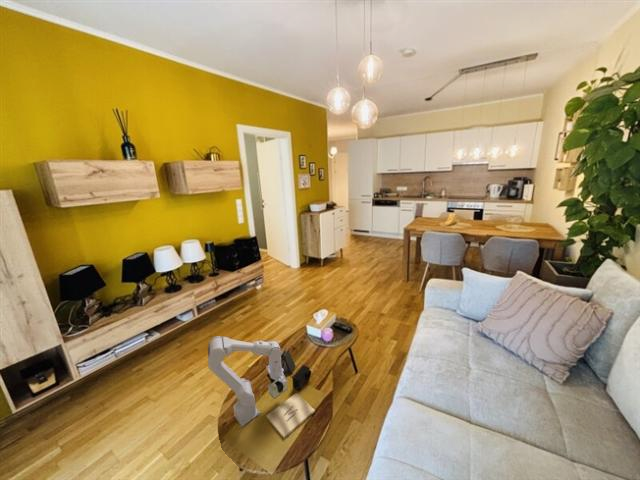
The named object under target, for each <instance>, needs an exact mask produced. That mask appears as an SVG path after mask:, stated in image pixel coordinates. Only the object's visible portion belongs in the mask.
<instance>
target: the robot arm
mask: <svg viewBox="0 0 640 480" xmlns="http://www.w3.org/2000/svg"><path fill="white" fill-rule="evenodd" d="M233 352H251V354H252V355H256V356H257V355H258V356H265V357H266V356H268V365H266V367H265V369H266V371H267V372H268V373H267V374H266V377H267V378H268V380H269V381H270V384H271V383H272V382H274V381H275V380H277V382H275V384H276V386H277V388H278V392H279V393H281V392H282V391H283V388H284V386H285V385H286V384H287V385H288V379H287V377H286V376H285V373H283V371H284V369H283V368H282V364H281V355H282V354H283V352H282V349H281V347H280V345H279V342H278V341H277V340H274V339H272V340H269V341H262V340H261V339H260V340H255V341H253V342H249V341H248V342H247V341H243V340H237V339H232V338H229V337H227V336H218V335H217V336H214V337H212V338H211V339H210V341H209V343H208V346H207V363H208V364H207V365H208V369H209V370H210V371H211V372H212V373H213V374H214V375H216V377H217V378H219V379H220V380H221V381H222V382H223V383H225V385H226V386H228V387H229V388H230V390H232V391H233V392H234V395H235V398H236V399H237V402H236V403H234V404H233V407H232V408H233V414H234V415H233V417H234V418H235V419H236V420H237V422H238V424H239V425H240V427H244V426H245V425H246V424H248V423H249V422H251V420H253V419H255V418H257V416H258V415H260V414H261V413H260V411H259V409H258V408H257V406H256V400H255V394H254V393H253V389H252V382H251V381H250V380H247V379H245V378H243V377H242V378H240V377H239V376H238V375H237V373H235V372H234V371H233V370H232V369H231V368H230V367H229V366H228V365H227V364H226V363H225V362H224V359H225V357H229V356H230V355H232V353H233Z"/></svg>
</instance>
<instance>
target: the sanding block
mask: <svg viewBox="0 0 640 480" xmlns="http://www.w3.org/2000/svg"><path fill="white" fill-rule="evenodd" d="M275 382H277V380H275V381H274V382H272V383H271V382H270V384H268V385H267V388H268V395H270V397H271V398H273V400H275V399H277V398H278V397H280V395H282V394H284V393H285V392H286V391H288V383H287V384H286V385H285V386H284V388H283V391H282V392H281V393H279V392H278V388H277V386H276V384H275Z"/></svg>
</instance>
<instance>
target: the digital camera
mask: <svg viewBox="0 0 640 480" xmlns="http://www.w3.org/2000/svg"><path fill="white" fill-rule="evenodd" d="M311 376H312V371H311V370H310V367H309V366H307V365H304V364H303V365H301V367H300V368H299V369H298V370H297V371H296V373H295V374H294V375H293V376H292V379H291V380H292V389H294V390H296V391H298V392H301V390H303V388H304V386H305V385H306V384H307V382H308V381H309V380H310V378H311Z"/></svg>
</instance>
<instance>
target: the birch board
mask: <svg viewBox="0 0 640 480" xmlns="http://www.w3.org/2000/svg"><path fill="white" fill-rule="evenodd" d="M315 412H316V410H315V409H314V408H313V407H312V405H310V404H309V403H308V402H307V401H306V400H305V399H304V398H303V397H302V396H301V395H299V393H298V392H295V393H294V394H293V395H292V396H290V397H289V398H288V399H286V400H284V402H282V403H281V404H279V406H277V407H276V408H274V409H273V410H272V411H271V412H269V413H268V414H267V415H265V416H266V419H267V420H268V421H269V423H270V424H271V425H272V426H273V427H274V429H275V430H276V431H277V433H279V434H280V437H282V438H283V439H286V438H287V437H288V436H289V435H290V434H292V433H293V432H294V431H295V430H296V429H297V428H298V427H299V426H301V425H302V424H303V423H304V422H305V421H306V420H308V419H309V418H310V417H311V416H312V415H313V414H314V413H315ZM312 413H313V414H312ZM311 414H312V415H311ZM310 415H311V416H310ZM309 416H310V417H309ZM308 417H309V418H308Z"/></svg>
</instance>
